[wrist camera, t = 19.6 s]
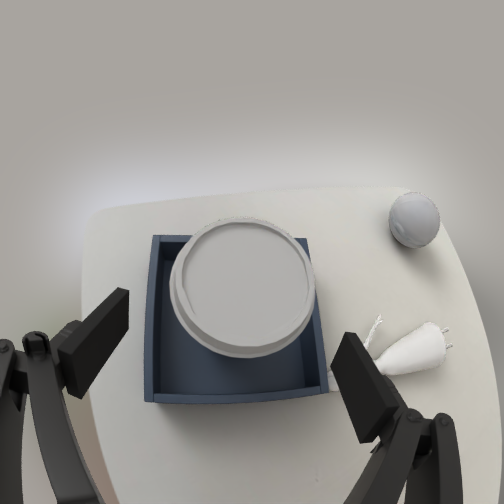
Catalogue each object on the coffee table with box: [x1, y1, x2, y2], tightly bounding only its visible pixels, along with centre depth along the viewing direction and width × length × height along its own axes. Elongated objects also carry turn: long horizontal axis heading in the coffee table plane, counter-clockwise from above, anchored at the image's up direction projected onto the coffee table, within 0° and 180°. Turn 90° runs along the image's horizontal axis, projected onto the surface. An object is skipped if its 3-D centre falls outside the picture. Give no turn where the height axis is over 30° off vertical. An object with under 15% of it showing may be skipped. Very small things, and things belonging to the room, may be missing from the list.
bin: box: [144, 235, 329, 404], centre depth 25 cm, size 16×16×5 cm
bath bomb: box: [389, 192, 440, 248], centre depth 34 cm, size 8×8×8 cm
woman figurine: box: [327, 315, 452, 392], centre depth 26 cm, size 12×4×18 cm
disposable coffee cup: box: [170, 217, 315, 358], centre depth 22 cm, size 10×10×12 cm
